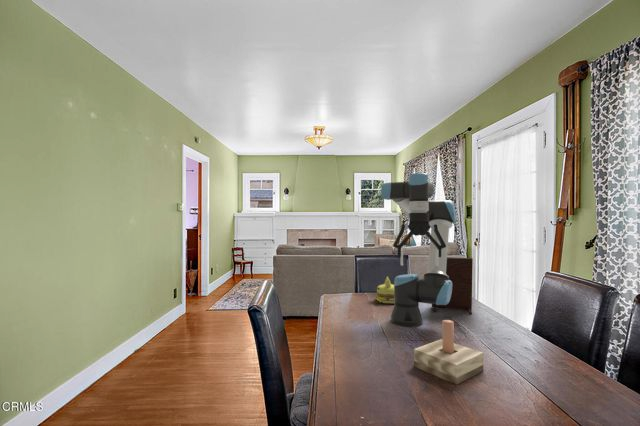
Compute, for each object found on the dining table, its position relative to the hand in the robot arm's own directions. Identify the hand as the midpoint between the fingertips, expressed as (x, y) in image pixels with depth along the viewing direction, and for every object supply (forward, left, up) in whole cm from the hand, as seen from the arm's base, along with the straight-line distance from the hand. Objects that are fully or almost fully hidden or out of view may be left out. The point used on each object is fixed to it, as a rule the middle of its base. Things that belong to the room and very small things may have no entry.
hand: (419, 265), depth 135 cm
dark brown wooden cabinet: (-22, +58, -33) cm, 70 cm away
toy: (-57, +46, -33) cm, 80 cm away
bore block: (+18, -8, -32) cm, 38 cm away
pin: (+18, -8, -30) cm, 36 cm away
